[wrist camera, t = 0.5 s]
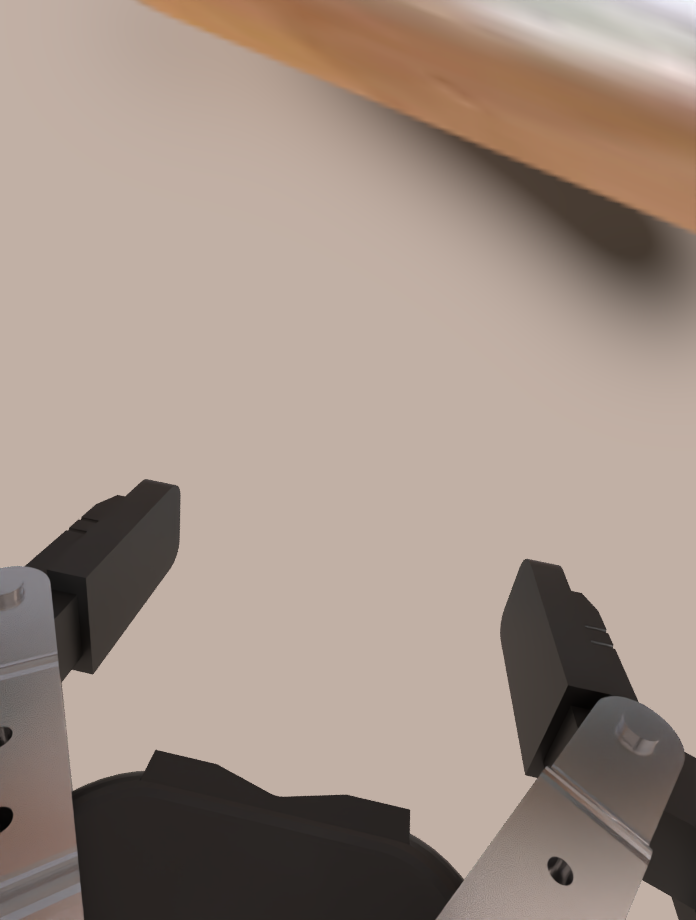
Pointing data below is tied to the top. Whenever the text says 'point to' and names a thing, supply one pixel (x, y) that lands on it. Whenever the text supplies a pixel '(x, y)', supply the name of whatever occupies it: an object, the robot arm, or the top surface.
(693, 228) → the top surface
